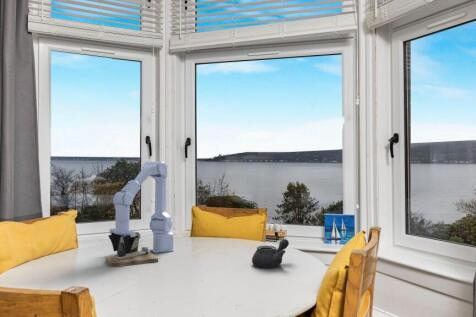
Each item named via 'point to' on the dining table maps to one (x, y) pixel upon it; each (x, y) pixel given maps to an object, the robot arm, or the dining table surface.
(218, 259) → the dining table surface
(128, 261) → the walnut board
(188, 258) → the dining table surface
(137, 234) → the food container
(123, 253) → the lever
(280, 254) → the teapot
